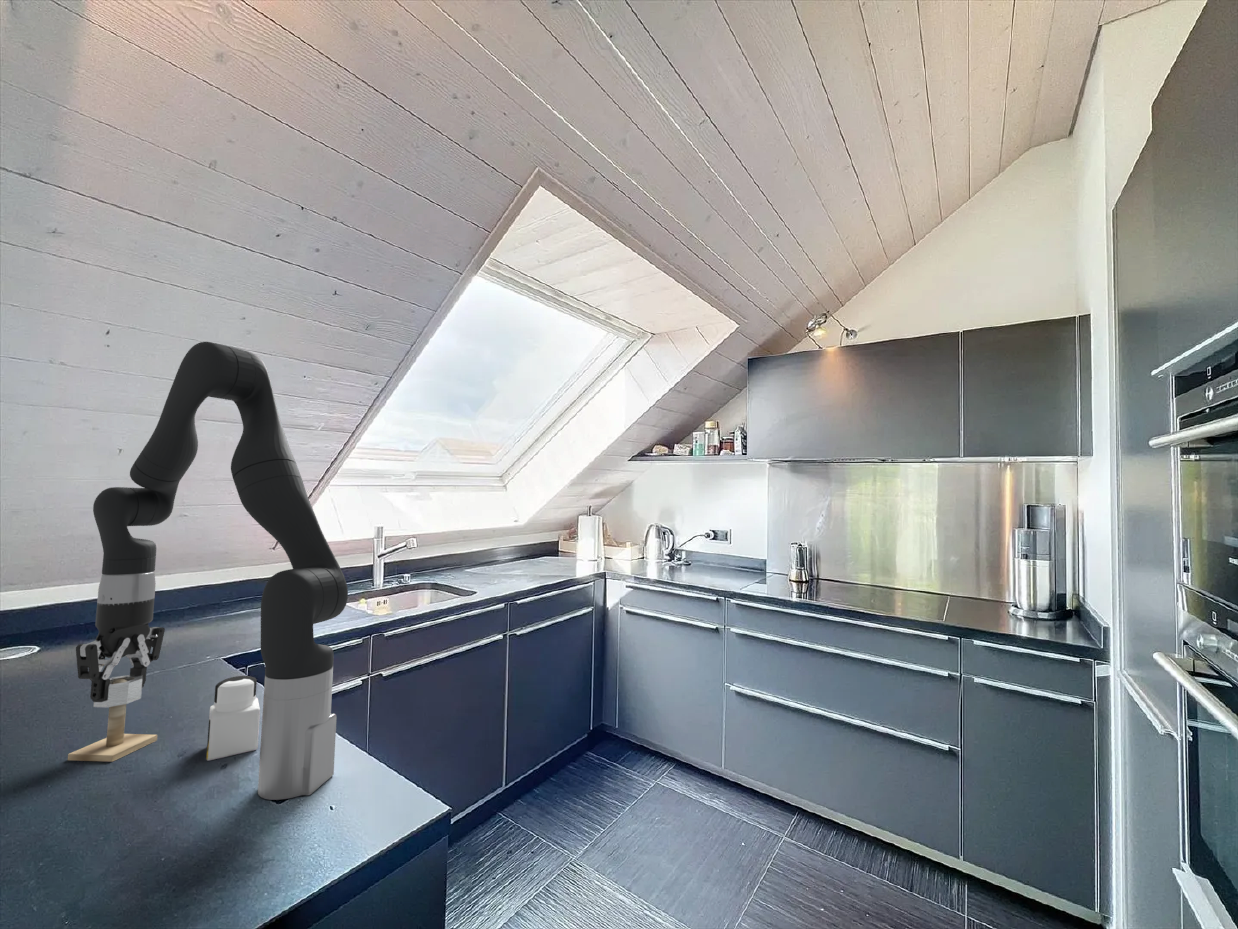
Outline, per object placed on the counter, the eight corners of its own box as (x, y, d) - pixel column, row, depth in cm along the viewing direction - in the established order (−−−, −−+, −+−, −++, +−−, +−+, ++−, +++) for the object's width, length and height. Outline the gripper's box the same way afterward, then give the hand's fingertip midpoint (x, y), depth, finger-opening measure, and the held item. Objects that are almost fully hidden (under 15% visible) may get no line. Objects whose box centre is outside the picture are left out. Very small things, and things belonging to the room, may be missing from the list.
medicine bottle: (207, 746, 93) (211, 677, 94) (255, 736, 97) (259, 670, 98) (206, 762, 87) (211, 688, 88) (257, 750, 92) (261, 680, 93)
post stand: (157, 740, 95) (162, 672, 96) (112, 761, 87) (118, 687, 88) (115, 739, 95) (121, 671, 96) (67, 760, 88) (74, 686, 89)
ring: (150, 695, 95) (151, 675, 95) (116, 707, 89) (118, 686, 89) (119, 694, 95) (120, 674, 95) (83, 706, 89) (85, 685, 89)
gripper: (105, 606, 86) (96, 711, 85) (182, 592, 100) (175, 681, 99) (62, 605, 86) (52, 710, 85) (145, 591, 101) (138, 680, 99)
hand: (118, 694), depth 92 cm, fingers closed on ring, 5 cm apart
